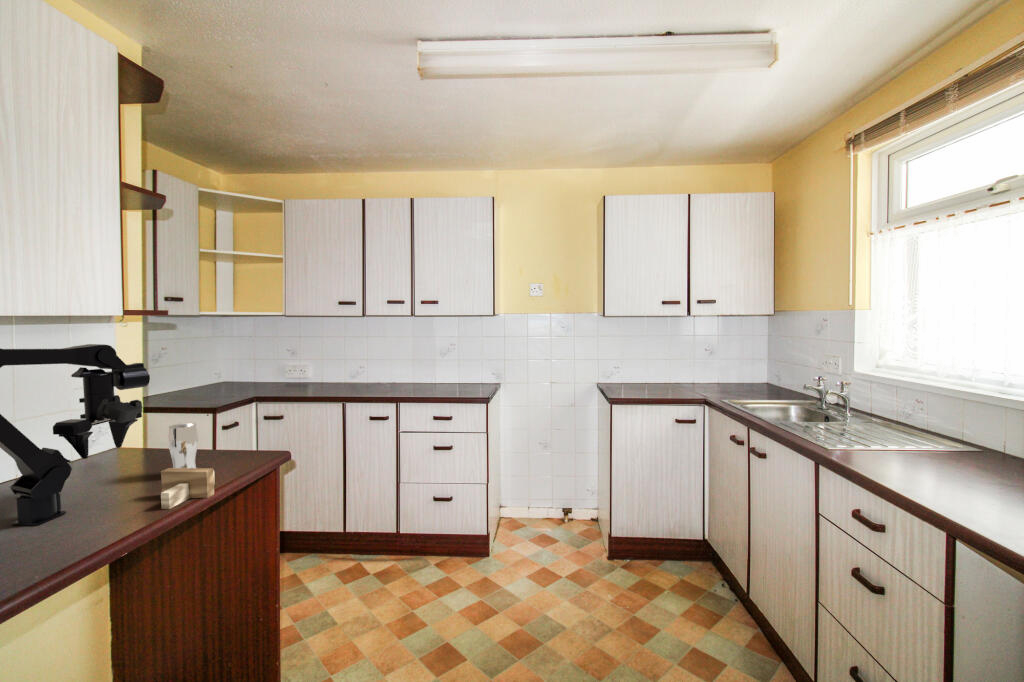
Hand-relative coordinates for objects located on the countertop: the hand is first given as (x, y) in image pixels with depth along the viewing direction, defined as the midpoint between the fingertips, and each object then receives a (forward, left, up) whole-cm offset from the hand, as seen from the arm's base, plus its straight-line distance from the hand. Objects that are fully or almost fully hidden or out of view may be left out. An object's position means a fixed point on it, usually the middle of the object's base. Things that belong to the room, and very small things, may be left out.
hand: (102, 452), depth 115 cm
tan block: (+2, -21, -12) cm, 24 cm away
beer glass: (+17, -8, -12) cm, 22 cm away
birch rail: (+2, -21, -12) cm, 24 cm away
